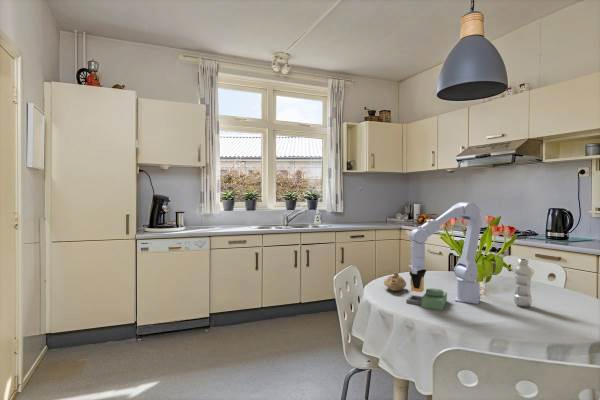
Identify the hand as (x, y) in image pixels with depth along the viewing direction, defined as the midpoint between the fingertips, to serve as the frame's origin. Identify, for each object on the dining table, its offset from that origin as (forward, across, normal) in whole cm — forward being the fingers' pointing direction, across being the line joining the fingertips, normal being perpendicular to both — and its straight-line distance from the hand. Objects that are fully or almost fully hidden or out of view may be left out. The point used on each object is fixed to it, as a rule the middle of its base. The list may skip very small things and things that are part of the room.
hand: (417, 286), depth 159 cm
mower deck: (+7, 0, +3) cm, 8 cm away
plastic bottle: (+7, -16, +40) cm, 44 cm away
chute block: (+2, 0, 0) cm, 2 cm away
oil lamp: (+7, -14, -14) cm, 21 cm away
